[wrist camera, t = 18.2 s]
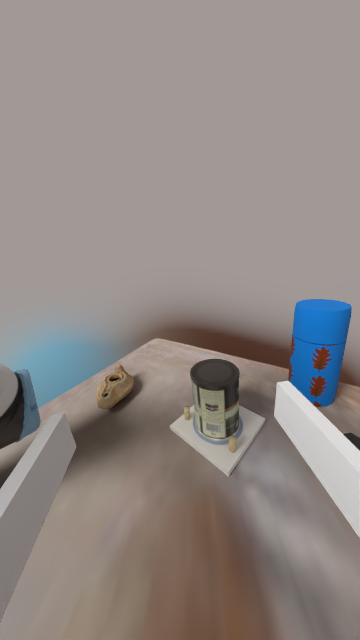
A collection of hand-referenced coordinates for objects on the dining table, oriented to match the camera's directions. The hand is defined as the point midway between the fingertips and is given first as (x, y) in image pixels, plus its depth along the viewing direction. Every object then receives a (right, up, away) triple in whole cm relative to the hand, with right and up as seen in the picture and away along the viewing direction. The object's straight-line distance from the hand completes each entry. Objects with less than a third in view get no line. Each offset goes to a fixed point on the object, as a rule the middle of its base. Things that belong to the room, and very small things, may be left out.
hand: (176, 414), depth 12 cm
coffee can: (+9, -18, +34) cm, 40 cm away
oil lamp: (-19, -18, +47) cm, 54 cm away
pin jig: (+9, -19, +34) cm, 40 cm away
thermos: (+36, -14, +41) cm, 57 cm away
